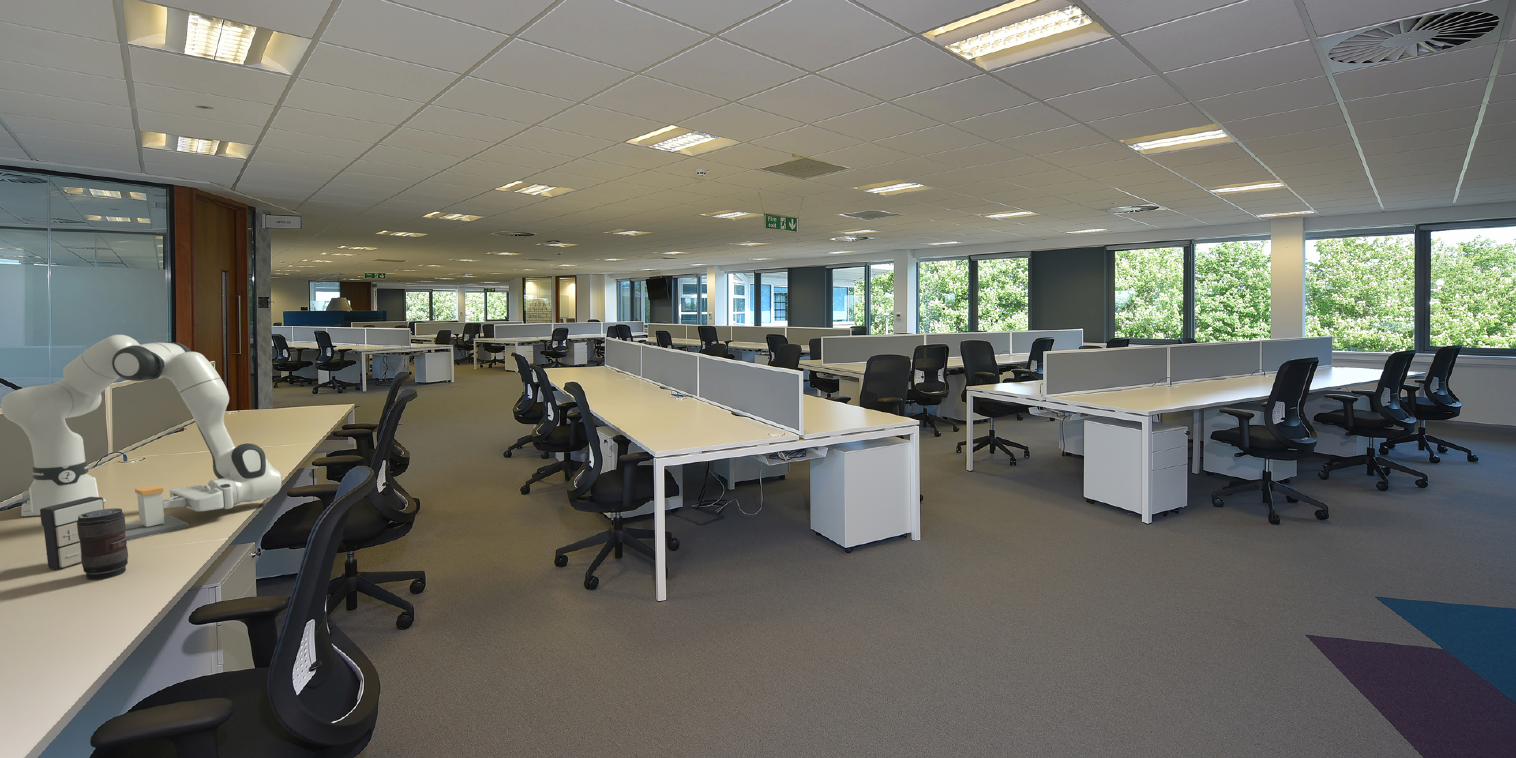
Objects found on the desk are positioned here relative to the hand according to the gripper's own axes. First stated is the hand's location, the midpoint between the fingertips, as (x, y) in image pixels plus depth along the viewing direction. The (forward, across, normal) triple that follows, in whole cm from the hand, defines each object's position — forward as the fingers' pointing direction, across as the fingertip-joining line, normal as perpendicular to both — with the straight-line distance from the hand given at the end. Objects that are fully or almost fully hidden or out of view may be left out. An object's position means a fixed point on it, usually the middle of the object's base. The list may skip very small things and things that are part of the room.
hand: (161, 504), depth 196 cm
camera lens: (+20, +33, +7) cm, 39 cm away
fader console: (+8, 0, +6) cm, 11 cm away
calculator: (+22, +17, +7) cm, 28 cm away
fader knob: (+3, 0, +5) cm, 6 cm away
